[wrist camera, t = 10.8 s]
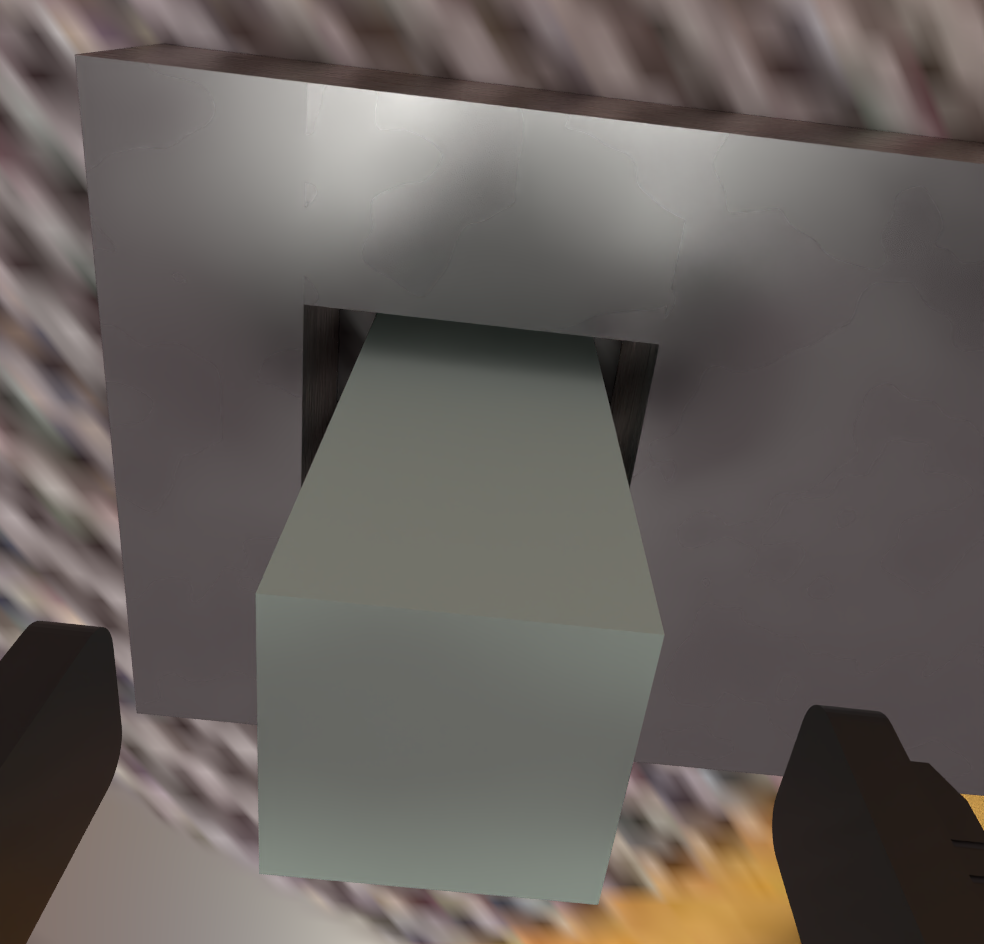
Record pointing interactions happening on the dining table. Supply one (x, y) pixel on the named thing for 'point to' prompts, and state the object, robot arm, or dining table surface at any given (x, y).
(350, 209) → the grey peg hole base
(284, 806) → the sage green square post
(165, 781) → the dining table surface
